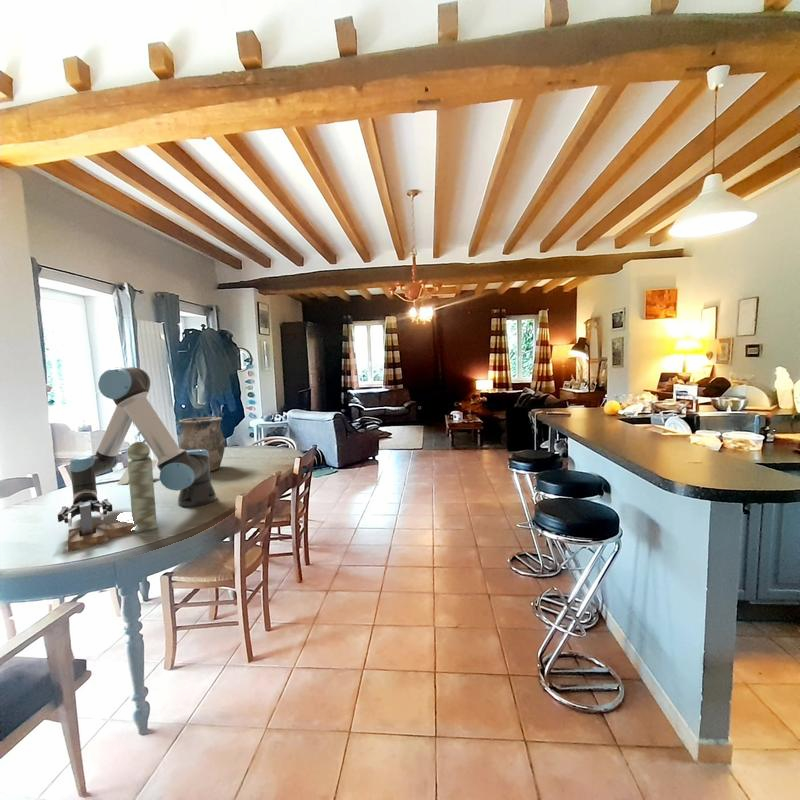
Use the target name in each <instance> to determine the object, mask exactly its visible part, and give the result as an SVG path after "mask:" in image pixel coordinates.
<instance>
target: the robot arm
mask: <svg viewBox="0 0 800 800" xmlns="http://www.w3.org/2000/svg"><path fill="white" fill-rule="evenodd" d="M150 389H151V379H150V376H149V375H148V373H147V372H146V371H145V370H144V369H141V368H139V367H134V366H133V367H114V368H110V369H107V370H105V371H103V372H102V374H101V375H100V376H99V379H98V390H99V392H100V393H101V395H102V396H103V397H105V398H107V399H110V400H112V401H113V402H114V404H115V405H116V406H115V409H114V411H113V413H112V416H111V419H110V420H109V422H108V425H107V427H106V429H105V432H104V434H103V435H102V439H101V440H100V443H99V445H98V448H97V450H96V453H95V454H94V456H93V455H81V456H75V457H73V458H71V459H70V461H69V462H70V465H69V466H70V468H69V470H70V477H71V484H72V486H71V487H72V505H71V506H70V507H69V506H66V505H65V506H62V507H61V510H60V511H59V512H58V513H57V522H58V523H61V522H64V523H65V524H68V527H69V528H71V527H72V526H73V525H72V522H73V518H74V517H76V516H79V515H80V503H84V502H90V504H91V513H92V512H93V513H94V512H96V513H100V515H99V516H100V520H101V521H104V520H105V519H104V515H107V514H108V513H112V512H113V504H112V503H111V502H110V501H109V499H108V498H105V499H103V500H101V501H100V500H98V491H97V490H98V489H97V480H96V476H98V475H101V474H103V473H106V472H109V471H111V470H112V469H113V468H116V466H117V465H118V463H119V458H118V454H119V452H120V449H121V447H122V445H123V443H124V440H125V438H126V437H127V434H128V432H129V429H130V428H131V426H132V423H133V424H134V426H135V427H136V429H137V431H138V432H139V433H140V435H141V436H142V438H143V439H144V441H145V442H146V444H147V445H148V447H149V449H150V451H152V453H153V455H154V456H155V458H156V460H157V462H156V467H157V468H158V470H159V480H160V482H161V484H162V486H164V488H165V489H167V490H171V491H179V494H178V496H177V497H178V498H177V504H178V506H180V507H186V508H187V507H190V508H193V507H197V506H198V507H199V506H204V505H207V504H210V503H213V502H214V501H216V499H217V494H216V493H217V492H216V491H215V489H214V487H213V484H212V481H211V472H210V463H209V458H210V457H209V453H208V451H207V450H184V449H180V448H179V445H178V444H177V443H176V441H175V440H174V438H173V436H172V434H170V432H169V431H168V429H167V427H166V425H165V424H164V423H163V421H162V420H161V418H160V417H159V415H158V413H157V412H156V409H154V407H153V405H152V404H151V403H150V401H149V400H148V398H147V396H148V394H149V391H150Z"/></svg>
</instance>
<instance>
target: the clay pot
mask: <svg viewBox="0 0 800 800" xmlns="http://www.w3.org/2000/svg"><path fill="white" fill-rule="evenodd" d="M222 420H223V418H222V417H217V416H205V417H191V418H183V419H180V420H179V421H178V423H179V425H180V426H181V428H182V431H181V434H180V438H179V440H178V441H179V443H178V447H179V448H180V449H184V450H207V451H208V453H209V457H210V458H209V463H210V473H211V472H214V471H217V470H219V469H220V468H221V465H222V461H223V458H224V453H225V447H226V446H225V442H226V438H225V437H224V435H223V431H222V430H221V427H220V424H221V422H222Z"/></svg>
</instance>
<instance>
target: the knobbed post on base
mask: <svg viewBox="0 0 800 800" xmlns="http://www.w3.org/2000/svg"><path fill="white" fill-rule="evenodd" d="M126 452H127V453H126V454H127V456H128V457H129V458H127V459H126V462H127V467H128V474H129V484H128V485H129V496H130V507H131V518H132V517H133V521H134V524H133V523H127V522H124V521H120V522H115V523H110V524H106V522H99V523H92V525H93V534H90V535H85V536H82V527H81V526H80V527H76V528H70V529H68V535H67V549H68V552H69V553H71V552H73V551H79V550H81V549H83V550H84V549H87V548H90V547H95V546H98V545H104V544H108V543H109V539H113V538H116V537H117V538H118V537H120V536H121V537H122V536H125V535H126V536H127V535H130V534H136V533H141V532H145V531H149V530H154V529H157V528H158V523H157V511H156V510H157V509H156V499H155V486H154V485H155V484H154V474H153V473H154V471H152V461H153V460H152V458H151V456H149V455H150V454H151V453H150V452H151V448H150V447H149V445H148V444H147V443H144V442H141V441H137V442H134V443H132V444H130V445H129V447H128V448H127V451H126ZM136 525H138V528H139V529H138V530H132V531H131V529H132V528H133V527H135V526H136Z"/></svg>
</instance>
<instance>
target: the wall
mask: <svg viewBox="0 0 800 800" xmlns="http://www.w3.org/2000/svg"><path fill="white" fill-rule="evenodd" d="M157 463H158V459H155V460H152V471H153V470H154V468H155V466H156V465H157ZM153 472H154V471H153ZM125 484H127V485H129V474H128V466H127V468H126V469H125V470H124V472H123V474H122V476H121V477H120V478H119V480H118V482H117V484H116V486H120V485H125Z"/></svg>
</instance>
